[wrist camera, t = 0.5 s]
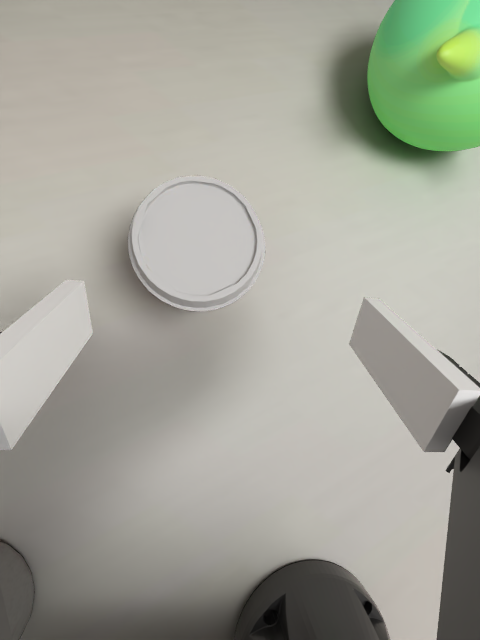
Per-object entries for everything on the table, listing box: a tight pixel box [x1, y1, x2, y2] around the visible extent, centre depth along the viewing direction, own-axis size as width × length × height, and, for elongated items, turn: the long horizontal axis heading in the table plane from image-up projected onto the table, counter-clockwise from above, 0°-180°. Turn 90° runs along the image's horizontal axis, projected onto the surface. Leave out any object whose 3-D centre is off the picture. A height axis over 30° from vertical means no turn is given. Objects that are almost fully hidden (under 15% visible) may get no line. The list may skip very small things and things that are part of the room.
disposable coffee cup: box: [128, 175, 265, 311], centre depth 26 cm, size 10×10×12 cm
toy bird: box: [367, 0, 480, 151], centre depth 30 cm, size 18×17×15 cm
